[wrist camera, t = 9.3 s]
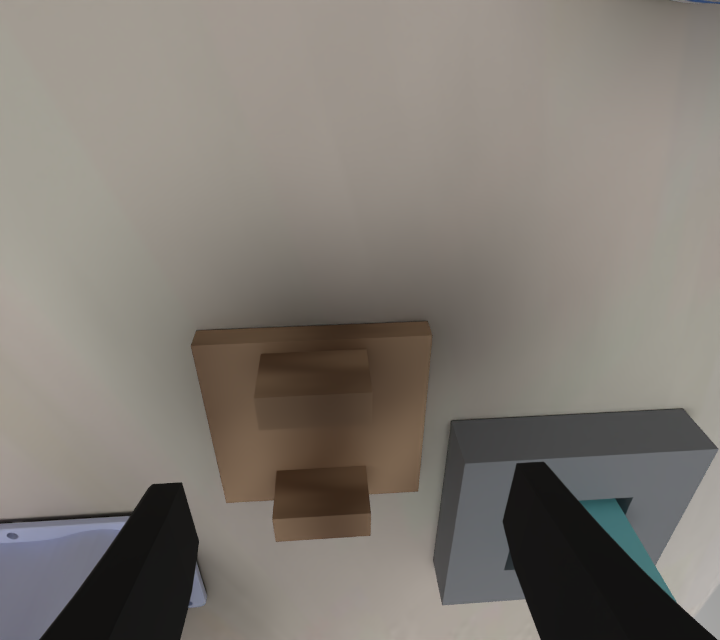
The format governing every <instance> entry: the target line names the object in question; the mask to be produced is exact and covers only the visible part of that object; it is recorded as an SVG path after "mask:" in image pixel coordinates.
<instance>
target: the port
mask: <svg viewBox="0 0 720 640" xmlns="http://www.w3.org/2000/svg"><path fill="white" fill-rule="evenodd" d="M717 451H718V448H717V447H716V446H715V444H714V443H713V442H712V441H711V440H710V439H709V438H708V436H707V435H706V434H705V433H704V432H703V431H702V430H701V428H700V427H699V426H698V425H697V424H696V423H695V422H694V421H693V419H692V418H691V417H690V416H689V415H688V414H687V413H686V411H685V410H684V409H670V410H651V411H632V412H613V413H594V414H575V415H556V416H537V417H518V418H498V419H479V420H460V421H452V422H451V430H450V437H449V445H448V453H447V460H446V468H445V475H444V483H443V491H442V498H441V506H440V514H439V521H438V529H437V536H436V544H435V552H434V559H433V562H434V567H435V572H436V577H437V582H438V587H439V592H440V597H441V602H442V605H453V604H466V603H480V602H493V601H507V600H520V599H525V596H524V594H523V591H522V588H521V586H520V583H519V580H518V577H517V575H516V572H515V569H514V565H513V562H512V558H511V554H510V550H509V547H508V543H507V538H506V534H505V530H504V526H503V522H502V521H503V517H504V513H505V509H506V505H507V501H508V496H509V492H510V488H511V484H512V480H513V476H514V472H515V467H516V463H527V462H545V463H546V464H547V465H548V466H549V467H550V468H551V470H552V471H553V472H554V473H555V474H556V475H557V477H558V478H559V479H560V480H561V481H562V482H563V484H564V485H565V486H566V487H567V488H568V489H569V490H570V492H571V493H572V494H573V495H574V496H575V497H576V498H577V500H578V501H581V500H597V499H613V498H615V499H616V501H617V502H618V504H619V506H620V507H621V509H622V511H623V512H624V514H625V516H626V518H627V519H628V521H629V523H630V524H631V526H632V528H633V529H634V531H635V533H636V534H637V536H638V538H639V540H640V541H641V543H642V545H643V546H644V548H645V550H646V551H647V553H648V555H649V556H650V558H651V560H652V561H653V563H654V565H656V563H657V561H658V559H659V558H660V556H661V554H662V552H663V550H664V548H665V547H666V545H667V543H668V541H669V539H670V537H671V536H672V534H673V532H674V530H675V528H676V526H677V525H678V523H679V521H680V519H681V517H682V515H683V513H684V512H685V510H686V508H687V506H688V504H689V502H690V501H691V499H692V497H693V495H694V493H695V491H696V490H697V488H698V486H699V484H700V482H701V480H702V479H703V477H704V475H705V473H706V471H707V469H708V468H709V466H710V464H711V462H712V460H713V458H714V457H715V455H716V453H717Z"/></svg>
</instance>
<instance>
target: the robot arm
mask: <svg viewBox="0 0 720 640" xmlns="http://www.w3.org/2000/svg"><path fill="white" fill-rule="evenodd" d="M502 522H503V526H504V530H505V534H506V538H507V543H508V547H509V550H510V554H511V558H512V562H513V565H514V569H515V572H516V575H517V577H518V580H519V583H520V586H521V588H522V591H523V594H524V596H525V599H526V602H527V604H528V607H529V610H530V612H531V615H532V618H533V620H534V623H535V626H536V628H537V631H538V634H539V636H540V639H541V640H717V639H716V638H715V637H714V636H713V635H712V634H711V633H709V632H708V631H707V630H706V629H705V628H704V627H703V626H701V625H700V624H699V623H698V622H697V621H696V620H695V619H694V618H693V617H691V616H690V615H689V614H688V613H687V612H686V611H685V610H684V609H683V608H682V607H681V606H680V605H679V604H677V603H676V602H675V601H674V600H673V599H672V598H671V597H670V596H669V595H668V594H667V593H666V592H665V591H664V590H663V589H662V588H661V587H660V586H659V585H658V584H657V583H656V582H655V581H654V580H653V579H652V578H651V577H650V576H649V575H648V574H647V573H646V572H645V571H644V570H643V569H642V568H641V567H640V566H639V565H638V564H637V563H636V562H635V561H634V560H633V559H632V558H631V557H630V556H629V555H628V554H627V553H626V552H625V551H624V550H623V549H622V548H621V547H620V546H619V544H618V543H617V542H616V541H615V540H614V539H613V538H612V537H611V536H610V535H609V534H608V533H607V532H606V531H605V530H604V529H603V527H602V526H601V525H600V524H599V523H598V522H597V521H596V520H595V519H594V518H593V516H592V515H591V514H590V513H589V512H588V511H587V510H586V509H585V507H584V506H583V505H582V504H581V503H580V502H579V501H578V500H577V498H576V497H575V496H574V495H573V494H572V493H571V492H570V490H569V489H568V488H567V487H566V486H565V485H564V484H563V482H562V481H561V480H560V479H559V478H558V477H557V475H556V474H555V473H554V472H553V471H552V470H551V468H550V467H549V466H548V465H547V464H546V463H545V462H527V463H516V467H515V472H514V476H513V480H512V484H511V488H510V492H509V496H508V501H507V505H506V509H505V513H504V517H503V521H502ZM198 545H199V540H198V536H197V533H196V529H195V526H194V523H193V519H192V516H191V512H190V509H189V505H188V502H187V498H186V495H185V491H184V488H183V485H182V482H181V483H164V484H152V485H151V486H150V487H149V488H148V489H147V491H146V492H145V494H144V495H143V497H142V499H141V500H140V502H139V503H138V505H137V506H136V508H135V509H134V511H133V512H132V514H131V515H130V516H119V517H102V518H86V519H70V520H53V521H37V522H21V523H4V524H0V640H180V639H181V635H182V631H183V626H184V622H185V618H186V614H187V610H188V608H192V607H201V606H203V605H205V604H206V600H207V595H206V591H205V588H204V585H203V581H202V578H201V575H200V572H199V568H198V565H197V562H196V560H197V552H198Z"/></svg>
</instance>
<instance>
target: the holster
mask: <svg viewBox="0 0 720 640" xmlns="http://www.w3.org/2000/svg"><path fill="white" fill-rule="evenodd" d="M431 345H432V333H431V330H430V327H429V324H428V321H420V322H395V323H371V324H346V325H322V326H297V327H273V328H248V329H224V330H199V331H196V333H195V336H194V338H193V341H192V344H191V349H192V353H193V357H194V362H195V366H196V371H197V375H198V379H199V384H200V388H201V393H202V397H203V402H204V406H205V410H206V415H207V419H208V424H209V428H210V433H211V437H212V441H213V446H214V450H215V455H216V459H217V464H218V468H219V472H220V477H221V481H222V486H223V490H224V495H225V499H226V503H234V502H250V501H267V500H274V507H273V519H272V520H273V526H274V533H275V539H276V542H280V541H295V540H310V539H326V538H341V537H356V536H370V532H371V511H370V501H369V494H383V493H399V492H416V491H418V487H419V476H420V465H421V454H422V443H423V432H424V422H425V411H426V400H427V389H428V378H429V367H430V356H431Z"/></svg>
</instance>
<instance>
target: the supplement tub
mask: <svg viewBox="0 0 720 640" xmlns="http://www.w3.org/2000/svg"><path fill="white" fill-rule="evenodd" d="M671 1H677V2H684V3H695V4H697V3H717V4H720V0H671Z"/></svg>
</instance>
